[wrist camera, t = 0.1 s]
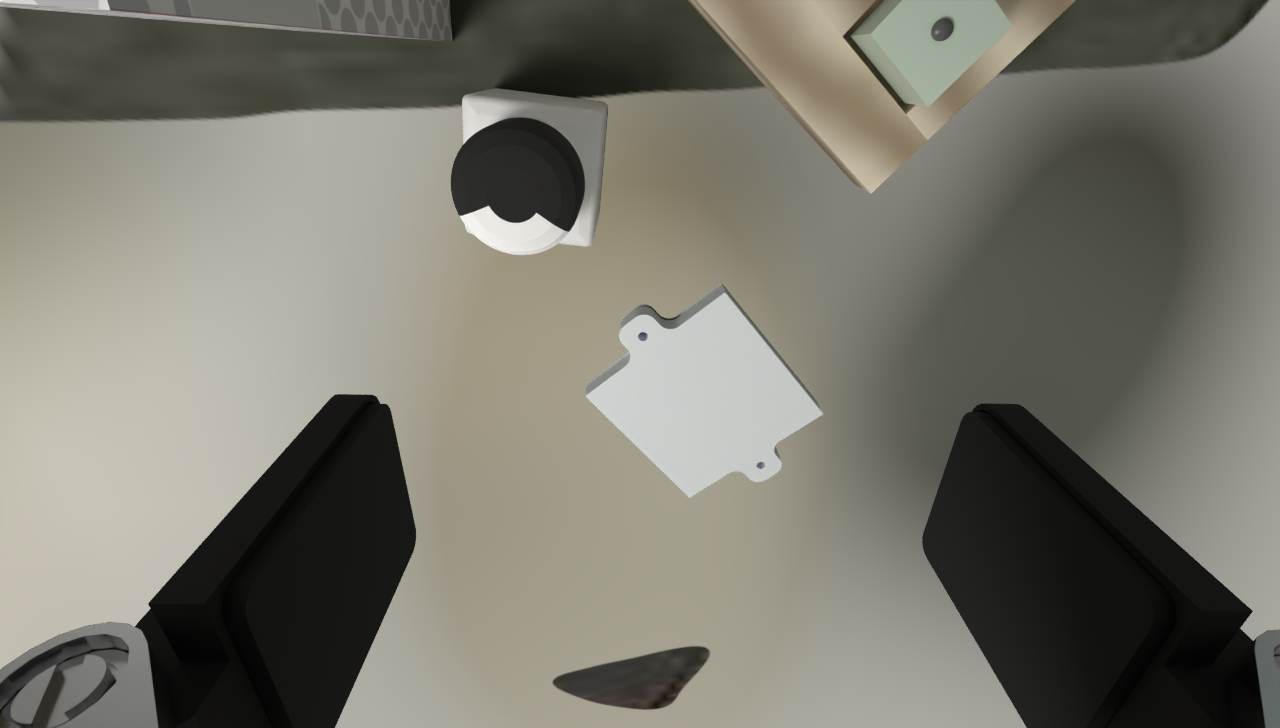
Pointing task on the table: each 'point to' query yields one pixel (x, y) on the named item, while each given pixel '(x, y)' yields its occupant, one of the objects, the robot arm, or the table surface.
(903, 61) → the button one
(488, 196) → the medicine bottle
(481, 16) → the table surface
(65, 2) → the box
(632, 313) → the mounting plate
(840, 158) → the wooden puzzle board
